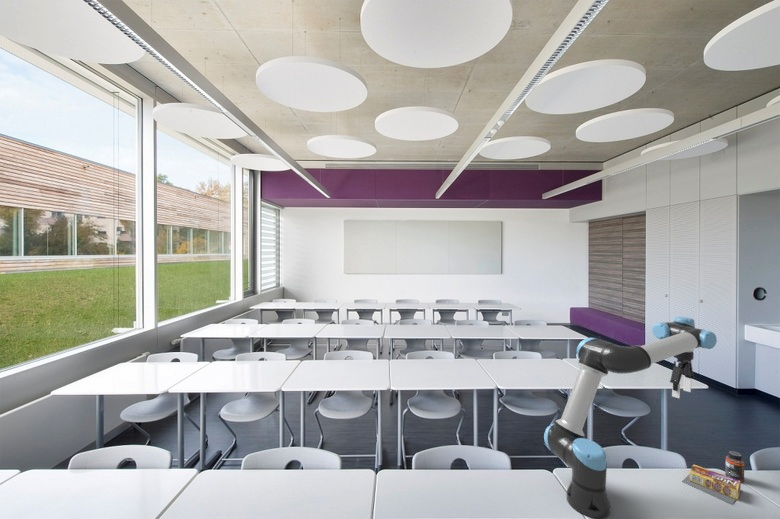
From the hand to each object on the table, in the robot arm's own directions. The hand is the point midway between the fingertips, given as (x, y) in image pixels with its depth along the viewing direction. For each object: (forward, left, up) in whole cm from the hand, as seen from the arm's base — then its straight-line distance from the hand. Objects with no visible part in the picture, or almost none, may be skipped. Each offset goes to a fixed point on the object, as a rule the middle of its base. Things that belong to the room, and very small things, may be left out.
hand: (681, 394), depth 166 cm
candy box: (+7, -10, -30) cm, 33 cm away
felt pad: (+14, -10, -33) cm, 37 cm away
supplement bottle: (+18, +6, -33) cm, 38 cm away
